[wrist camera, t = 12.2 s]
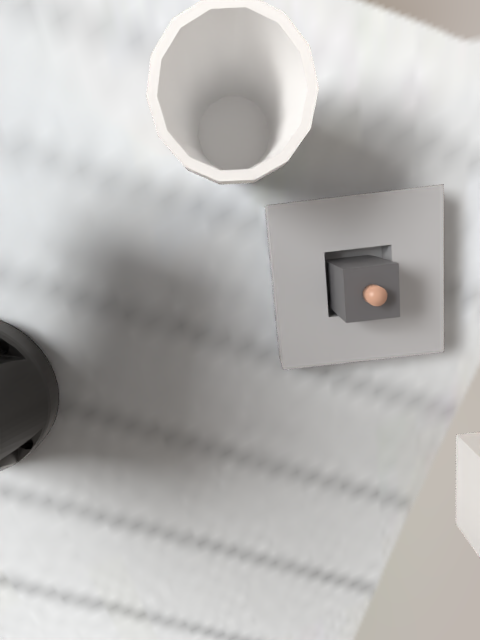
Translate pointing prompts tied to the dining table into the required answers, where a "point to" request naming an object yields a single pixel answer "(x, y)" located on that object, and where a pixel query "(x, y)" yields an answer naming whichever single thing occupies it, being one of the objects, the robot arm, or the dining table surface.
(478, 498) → the robot arm
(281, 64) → the foam cup
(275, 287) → the socket plate
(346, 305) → the plug
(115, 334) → the dining table surface
